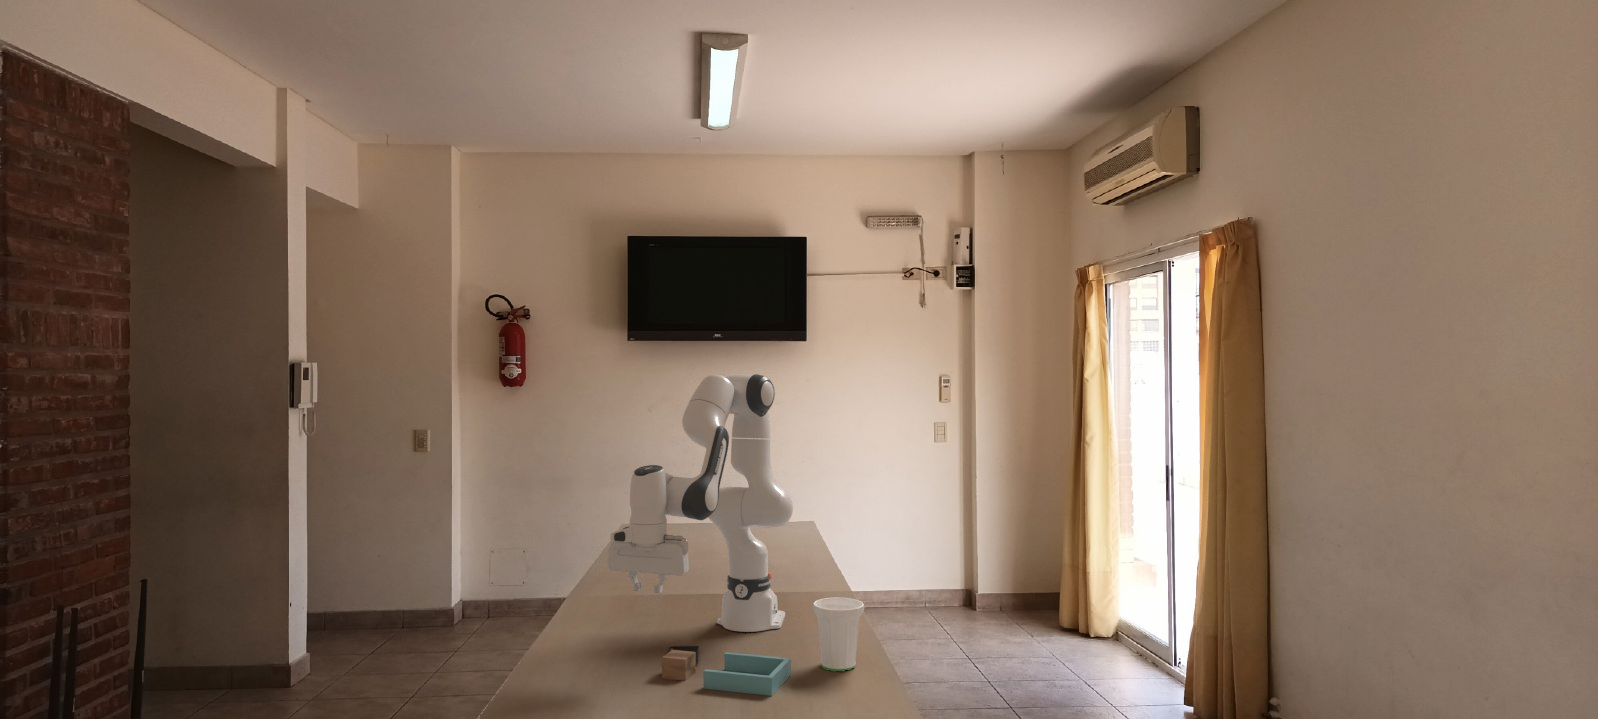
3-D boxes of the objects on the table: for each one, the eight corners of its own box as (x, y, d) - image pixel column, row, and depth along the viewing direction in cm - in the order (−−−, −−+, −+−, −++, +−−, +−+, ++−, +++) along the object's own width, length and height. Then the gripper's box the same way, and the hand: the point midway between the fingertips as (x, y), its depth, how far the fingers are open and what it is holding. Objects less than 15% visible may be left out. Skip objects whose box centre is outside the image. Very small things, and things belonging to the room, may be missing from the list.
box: (726, 668, 223) (726, 652, 223) (790, 675, 218) (790, 658, 218) (703, 688, 209) (703, 670, 209) (772, 695, 204) (772, 677, 204)
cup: (802, 665, 225) (802, 603, 225) (837, 654, 234) (837, 594, 234) (839, 678, 216) (839, 612, 216) (874, 666, 225) (874, 603, 225)
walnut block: (672, 670, 222) (672, 649, 222) (695, 672, 220) (695, 651, 220) (661, 678, 216) (662, 657, 216) (685, 680, 214) (685, 659, 214)
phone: (664, 664, 223) (669, 646, 238) (664, 669, 223) (669, 650, 238) (697, 664, 224) (700, 645, 239) (697, 668, 224) (700, 649, 239)
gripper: (693, 533, 221) (693, 591, 221) (616, 529, 227) (616, 585, 227) (682, 538, 215) (682, 597, 215) (604, 533, 221) (603, 591, 221)
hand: (647, 591), depth 221 cm, fingers open, 4 cm apart
